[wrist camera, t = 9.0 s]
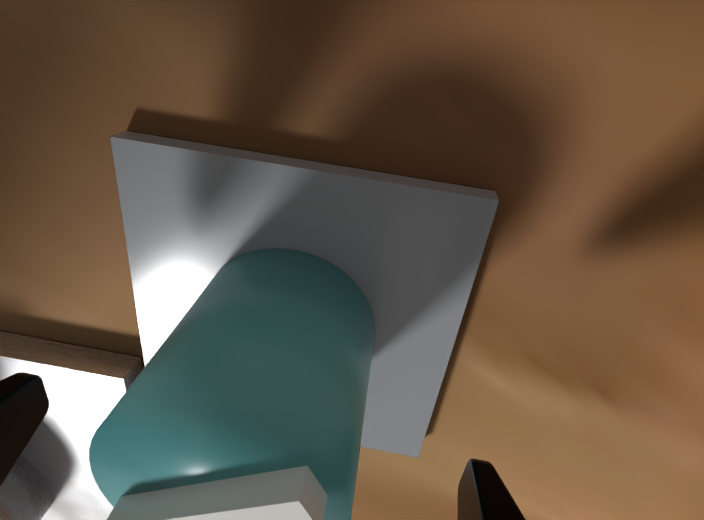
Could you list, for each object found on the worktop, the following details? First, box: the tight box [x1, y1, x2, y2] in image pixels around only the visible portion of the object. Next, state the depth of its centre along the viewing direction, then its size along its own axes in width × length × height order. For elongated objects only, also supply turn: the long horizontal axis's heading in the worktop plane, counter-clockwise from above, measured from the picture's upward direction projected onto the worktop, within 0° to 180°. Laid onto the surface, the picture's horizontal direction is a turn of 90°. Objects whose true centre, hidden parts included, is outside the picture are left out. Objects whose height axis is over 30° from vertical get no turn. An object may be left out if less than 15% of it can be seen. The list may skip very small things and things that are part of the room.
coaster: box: [110, 131, 499, 458], centre depth 12 cm, size 9×9×1 cm
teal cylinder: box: [89, 248, 375, 520], centre depth 10 cm, size 5×5×6 cm
